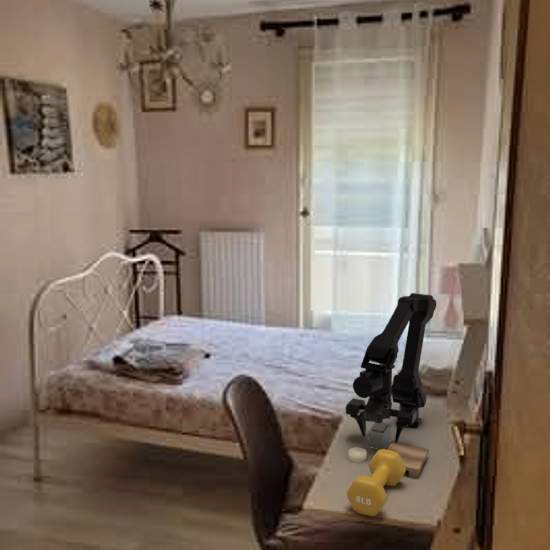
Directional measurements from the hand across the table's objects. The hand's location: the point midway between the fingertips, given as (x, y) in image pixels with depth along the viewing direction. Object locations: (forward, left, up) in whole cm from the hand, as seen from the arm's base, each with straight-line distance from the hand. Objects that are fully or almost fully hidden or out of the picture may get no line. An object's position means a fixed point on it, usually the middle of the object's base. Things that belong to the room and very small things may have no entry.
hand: (380, 440), depth 168 cm
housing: (0, 0, -1) cm, 1 cm away
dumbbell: (+27, +7, -1) cm, 28 cm away
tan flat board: (+9, +9, -1) cm, 13 cm away
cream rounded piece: (+11, -3, -1) cm, 11 cm away
